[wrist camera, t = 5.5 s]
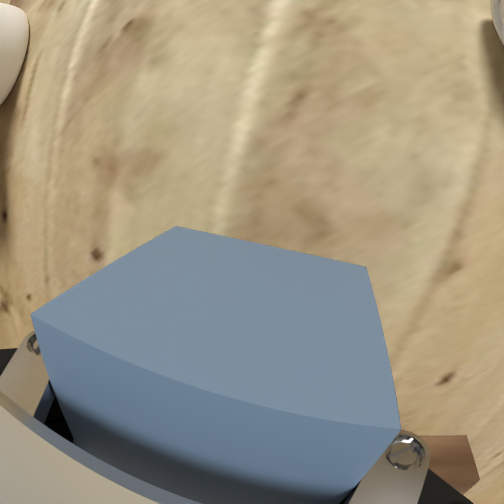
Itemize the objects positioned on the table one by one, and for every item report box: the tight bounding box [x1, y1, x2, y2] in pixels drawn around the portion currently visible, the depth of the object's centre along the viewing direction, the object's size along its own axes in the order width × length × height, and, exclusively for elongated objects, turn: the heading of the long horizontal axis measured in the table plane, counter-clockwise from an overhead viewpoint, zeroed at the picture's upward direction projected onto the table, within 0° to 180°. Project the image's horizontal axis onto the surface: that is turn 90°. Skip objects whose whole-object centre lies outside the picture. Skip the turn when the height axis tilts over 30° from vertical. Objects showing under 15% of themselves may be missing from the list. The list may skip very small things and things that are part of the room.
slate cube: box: [31, 226, 401, 504], centre depth 8 cm, size 6×6×6 cm
